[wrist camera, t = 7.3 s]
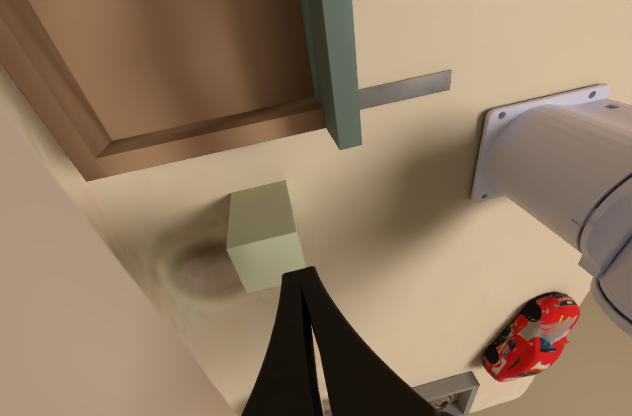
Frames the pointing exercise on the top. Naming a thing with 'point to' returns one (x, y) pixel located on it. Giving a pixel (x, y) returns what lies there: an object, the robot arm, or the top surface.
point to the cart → (181, 75)
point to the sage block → (263, 236)
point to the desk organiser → (450, 392)
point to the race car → (532, 338)
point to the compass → (442, 405)
